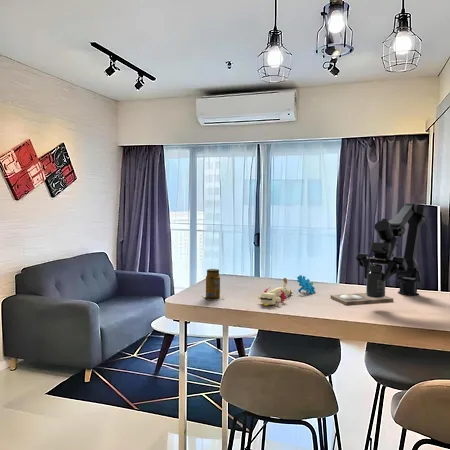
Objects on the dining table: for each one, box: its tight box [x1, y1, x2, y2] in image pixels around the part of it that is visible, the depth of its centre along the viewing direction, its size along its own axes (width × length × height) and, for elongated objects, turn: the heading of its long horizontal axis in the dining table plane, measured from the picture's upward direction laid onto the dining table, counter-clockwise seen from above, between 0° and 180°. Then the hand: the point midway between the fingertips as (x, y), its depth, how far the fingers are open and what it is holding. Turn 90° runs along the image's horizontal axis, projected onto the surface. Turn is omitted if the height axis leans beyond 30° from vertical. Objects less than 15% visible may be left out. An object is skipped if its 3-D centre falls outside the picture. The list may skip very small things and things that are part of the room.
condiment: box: [202, 268, 225, 301], centre depth 185 cm, size 7×8×12 cm
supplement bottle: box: [365, 263, 386, 298], centre depth 167 cm, size 7×7×12 cm
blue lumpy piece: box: [296, 274, 316, 295], centre depth 197 cm, size 11×6×10 cm
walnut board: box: [330, 292, 394, 306], centre depth 182 cm, size 22×12×1 cm, turn 105°
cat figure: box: [257, 277, 293, 306], centre depth 181 cm, size 10×9×25 cm
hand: (374, 279), depth 166 cm, fingers closed on supplement bottle, 7 cm apart
